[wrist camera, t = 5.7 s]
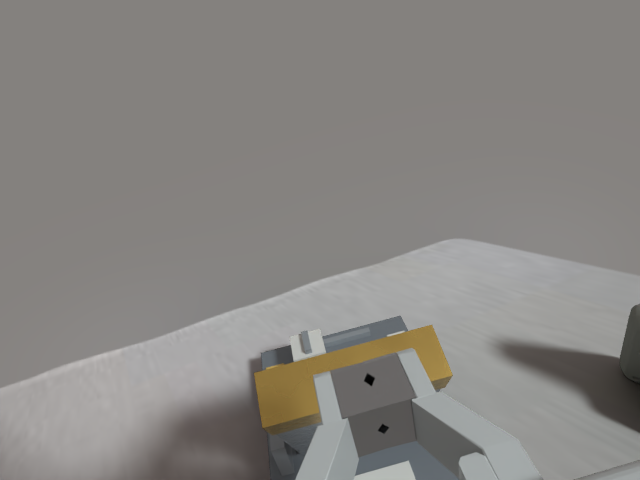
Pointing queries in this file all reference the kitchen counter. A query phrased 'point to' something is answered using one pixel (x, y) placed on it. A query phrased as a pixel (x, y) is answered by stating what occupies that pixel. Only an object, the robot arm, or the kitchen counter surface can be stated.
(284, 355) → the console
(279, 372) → the lever
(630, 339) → the digital clock
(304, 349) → the slide switch
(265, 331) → the kitchen counter surface
